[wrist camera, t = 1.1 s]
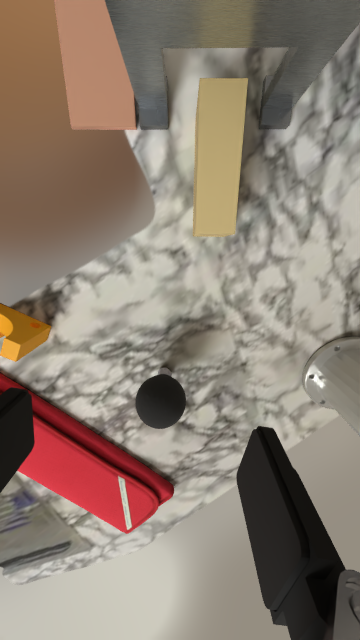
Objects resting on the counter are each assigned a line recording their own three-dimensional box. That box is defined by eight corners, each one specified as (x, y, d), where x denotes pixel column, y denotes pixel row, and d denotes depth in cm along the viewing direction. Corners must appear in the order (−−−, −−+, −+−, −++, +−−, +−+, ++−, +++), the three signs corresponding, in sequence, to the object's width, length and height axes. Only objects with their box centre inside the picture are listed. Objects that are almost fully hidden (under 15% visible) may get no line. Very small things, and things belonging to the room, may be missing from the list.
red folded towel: (-14, 358, 34) (-36, 371, 30) (176, 481, 43) (176, 502, 39) (-54, 415, 38) (-78, 432, 34) (128, 517, 46) (123, 539, 43)
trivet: (126, -65, 19) (124, -75, 18) (136, 129, 23) (135, 126, 23) (48, -64, 19) (44, -74, 18) (73, 129, 24) (71, 126, 23)
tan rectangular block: (232, 113, 23) (248, 70, 17) (223, 236, 27) (234, 233, 22) (195, 113, 23) (200, 70, 17) (192, 236, 27) (195, 233, 22)
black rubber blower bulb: (140, 381, 34) (124, 433, 25) (151, 348, 32) (138, 390, 23) (177, 392, 35) (176, 446, 25) (190, 360, 33) (194, 406, 23)
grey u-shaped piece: (292, 81, 22) (409, -95, 11) (285, 128, 23) (383, 17, 12) (138, 82, 22) (93, -90, 11) (141, 129, 23) (102, 20, 12)
